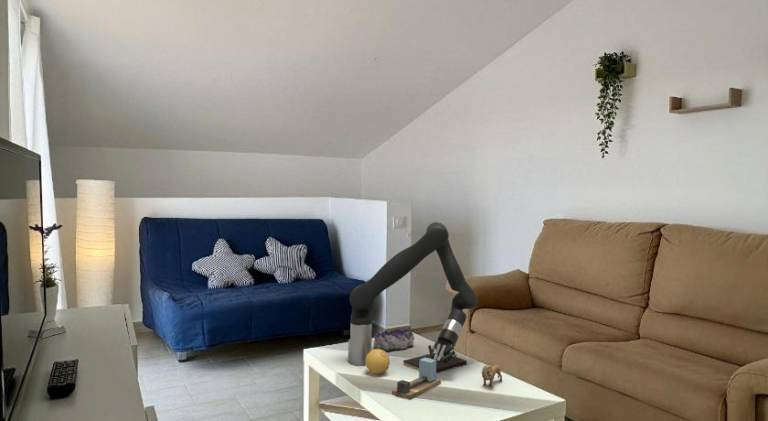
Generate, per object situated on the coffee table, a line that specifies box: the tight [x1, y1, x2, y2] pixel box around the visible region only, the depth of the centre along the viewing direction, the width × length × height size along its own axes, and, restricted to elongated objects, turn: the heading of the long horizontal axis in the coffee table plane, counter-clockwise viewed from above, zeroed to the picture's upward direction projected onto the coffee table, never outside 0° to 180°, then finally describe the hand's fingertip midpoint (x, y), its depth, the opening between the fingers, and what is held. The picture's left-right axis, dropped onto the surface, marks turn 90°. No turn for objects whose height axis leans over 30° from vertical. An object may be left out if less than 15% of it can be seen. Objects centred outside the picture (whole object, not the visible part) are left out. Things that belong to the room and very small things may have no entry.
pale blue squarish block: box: [418, 358, 437, 382], centre depth 215 cm, size 5×4×7 cm
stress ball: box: [365, 348, 391, 375], centre depth 225 cm, size 10×10×10 cm
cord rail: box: [391, 377, 442, 401], centre depth 209 cm, size 8×21×5 cm, turn 142°
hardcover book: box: [402, 352, 468, 374], centre depth 238 cm, size 16×23×2 cm
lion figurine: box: [481, 364, 503, 388], centre depth 216 cm, size 15×5×9 cm, turn 150°
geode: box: [373, 328, 415, 352], centre depth 261 cm, size 20×12×10 cm, turn 121°
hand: (433, 369), depth 218 cm, fingers closed
